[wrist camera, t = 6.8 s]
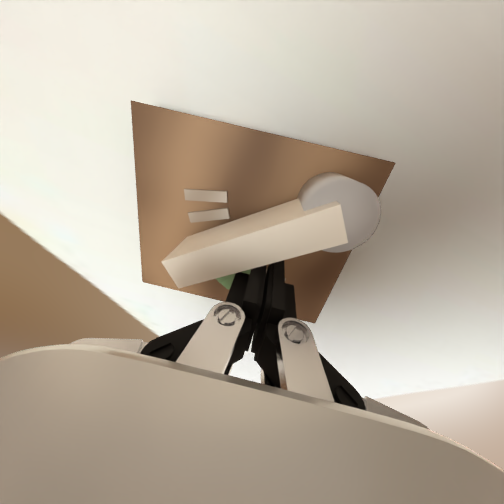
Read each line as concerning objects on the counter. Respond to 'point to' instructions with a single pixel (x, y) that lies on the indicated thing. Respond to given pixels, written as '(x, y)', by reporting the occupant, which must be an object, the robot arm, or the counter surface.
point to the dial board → (231, 192)
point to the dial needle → (281, 231)
